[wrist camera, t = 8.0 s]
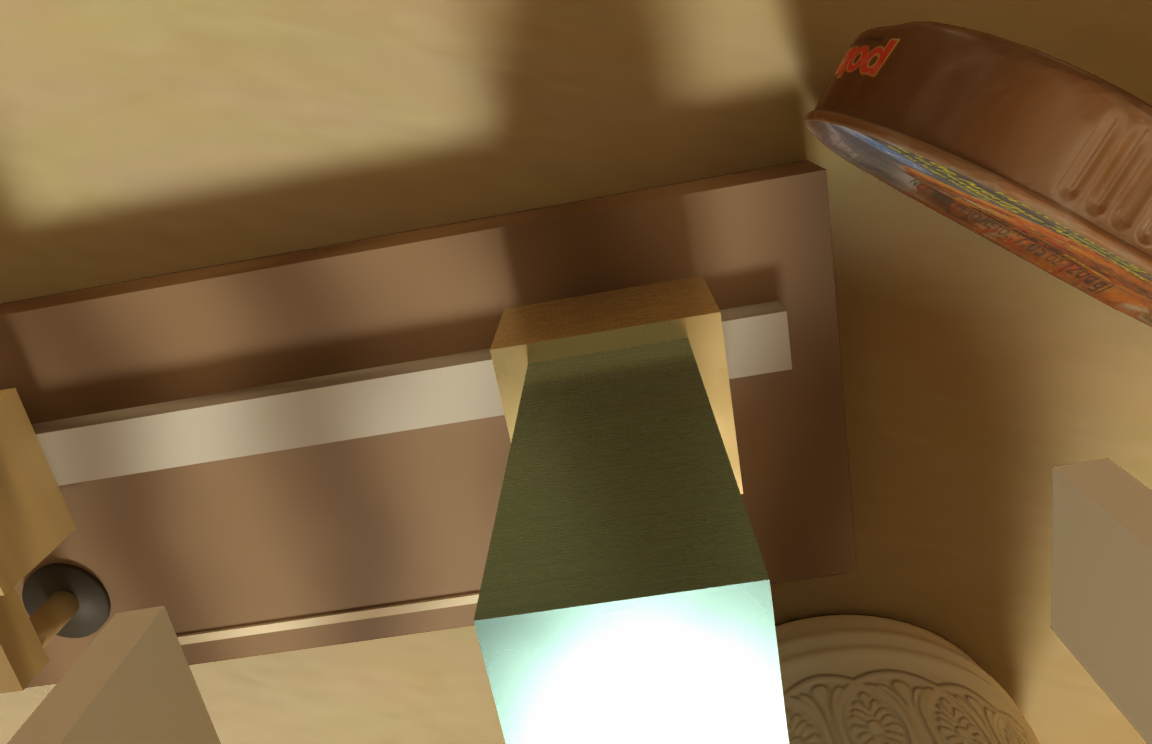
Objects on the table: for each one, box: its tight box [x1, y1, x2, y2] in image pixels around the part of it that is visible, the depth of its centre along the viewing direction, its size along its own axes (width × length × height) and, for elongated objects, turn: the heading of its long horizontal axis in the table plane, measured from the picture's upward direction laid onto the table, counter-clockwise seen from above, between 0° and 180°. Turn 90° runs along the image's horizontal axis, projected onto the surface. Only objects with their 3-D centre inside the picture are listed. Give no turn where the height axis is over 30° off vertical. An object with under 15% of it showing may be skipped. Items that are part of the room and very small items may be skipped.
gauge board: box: [0, 161, 857, 693], centre depth 24 cm, size 30×12×6 cm, turn 100°
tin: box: [804, 22, 1152, 327], centre depth 20 cm, size 15×3×8 cm, turn 63°
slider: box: [474, 276, 789, 744], centre depth 17 cm, size 5×8×13 cm, turn 10°
